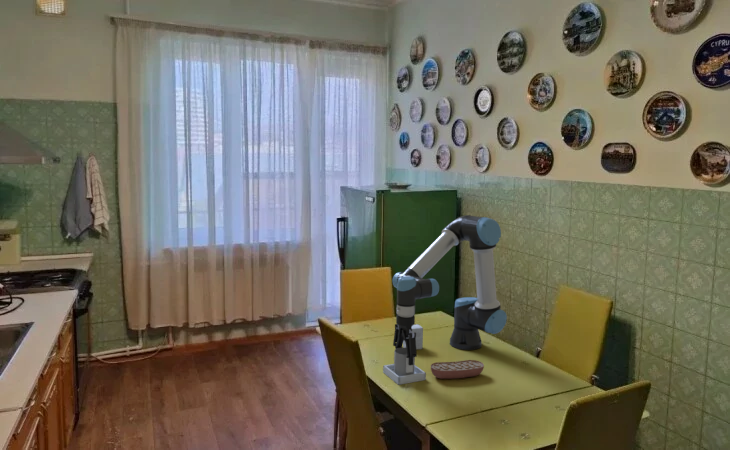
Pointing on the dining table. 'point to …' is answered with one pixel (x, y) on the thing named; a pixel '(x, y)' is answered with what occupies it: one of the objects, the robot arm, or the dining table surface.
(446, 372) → the mitochondrion model
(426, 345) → the dining table surface
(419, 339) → the small box
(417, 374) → the grey tray
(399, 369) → the cup
